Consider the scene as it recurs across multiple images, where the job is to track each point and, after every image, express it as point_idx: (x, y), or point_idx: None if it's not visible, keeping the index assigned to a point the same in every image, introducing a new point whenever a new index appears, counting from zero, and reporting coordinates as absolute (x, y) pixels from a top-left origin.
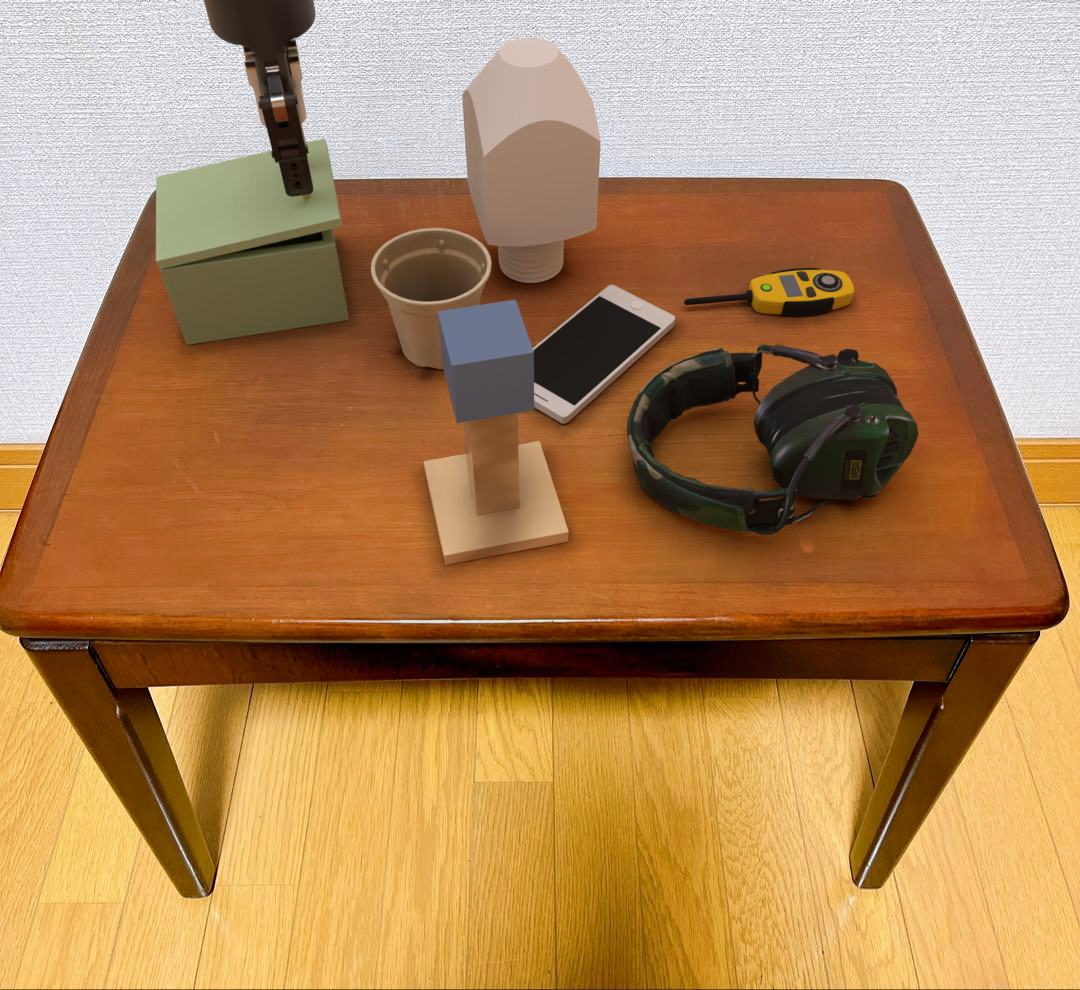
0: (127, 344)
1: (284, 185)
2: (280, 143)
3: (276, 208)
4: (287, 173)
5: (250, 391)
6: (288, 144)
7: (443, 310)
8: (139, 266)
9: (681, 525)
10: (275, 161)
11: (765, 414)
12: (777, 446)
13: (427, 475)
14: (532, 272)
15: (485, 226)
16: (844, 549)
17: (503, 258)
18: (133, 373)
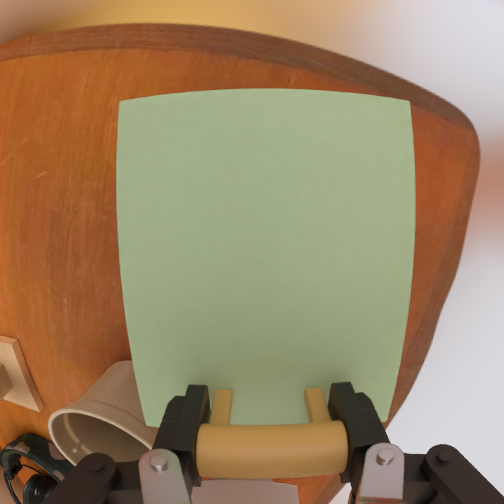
0: (193, 58)
1: (184, 397)
2: (118, 493)
3: (200, 343)
4: (158, 431)
5: (88, 205)
6: (106, 502)
7: (64, 435)
8: (349, 71)
9: (19, 434)
10: (83, 457)
11: (45, 497)
12: (28, 489)
13: (2, 342)
14: None
15: (191, 494)
16: (27, 468)
17: None
18: (140, 72)
